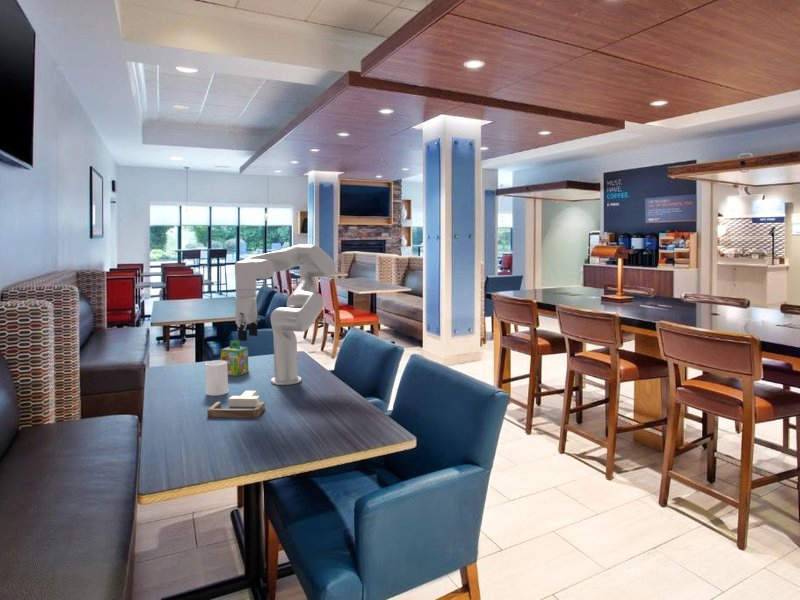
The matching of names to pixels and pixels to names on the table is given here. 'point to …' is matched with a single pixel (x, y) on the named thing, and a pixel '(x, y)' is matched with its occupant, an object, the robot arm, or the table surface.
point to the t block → (244, 400)
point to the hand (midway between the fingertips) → (248, 338)
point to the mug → (216, 378)
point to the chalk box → (235, 359)
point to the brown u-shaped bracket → (235, 411)
